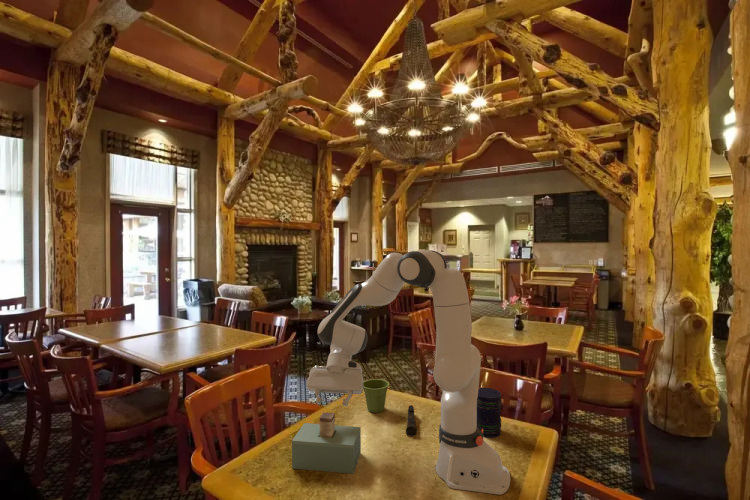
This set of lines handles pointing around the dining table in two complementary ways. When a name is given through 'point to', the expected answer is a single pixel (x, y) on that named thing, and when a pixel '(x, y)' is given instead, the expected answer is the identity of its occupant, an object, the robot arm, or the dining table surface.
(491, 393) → the storage jar
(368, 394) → the plant pot
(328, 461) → the box with square hole
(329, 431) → the wooden block
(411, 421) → the hand tool
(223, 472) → the dining table surface
